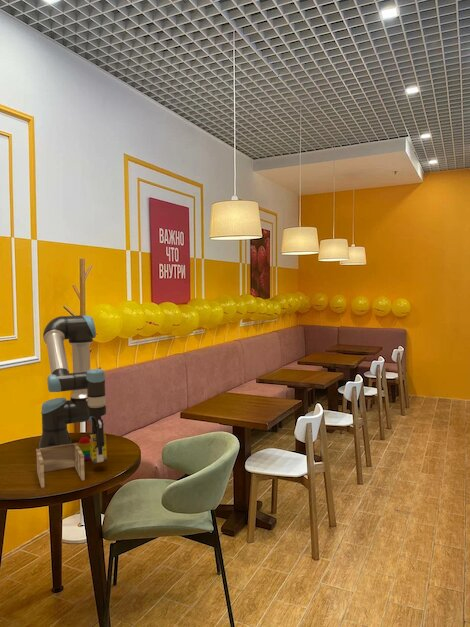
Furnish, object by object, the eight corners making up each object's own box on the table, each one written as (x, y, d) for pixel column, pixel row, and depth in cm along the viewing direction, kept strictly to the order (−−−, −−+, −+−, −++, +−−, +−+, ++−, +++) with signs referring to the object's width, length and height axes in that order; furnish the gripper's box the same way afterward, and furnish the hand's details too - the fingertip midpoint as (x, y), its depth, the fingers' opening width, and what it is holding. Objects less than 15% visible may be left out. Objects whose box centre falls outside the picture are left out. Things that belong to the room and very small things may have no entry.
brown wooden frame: (36, 472, 205) (35, 449, 204) (77, 465, 212) (76, 442, 212) (40, 488, 188) (39, 462, 187) (85, 479, 195) (84, 455, 195)
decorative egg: (82, 462, 215) (81, 440, 215) (72, 459, 221) (71, 437, 220) (98, 457, 221) (97, 436, 221) (88, 454, 227) (87, 433, 226)
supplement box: (93, 463, 202) (92, 437, 202) (90, 459, 208) (89, 434, 207) (107, 461, 205) (106, 435, 205) (104, 457, 210) (103, 432, 210)
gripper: (83, 402, 212) (85, 454, 213) (91, 411, 195) (93, 467, 196) (101, 400, 216) (102, 451, 216) (110, 409, 199) (112, 464, 199)
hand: (98, 459), depth 206 cm, fingers closed on supplement box, 6 cm apart
